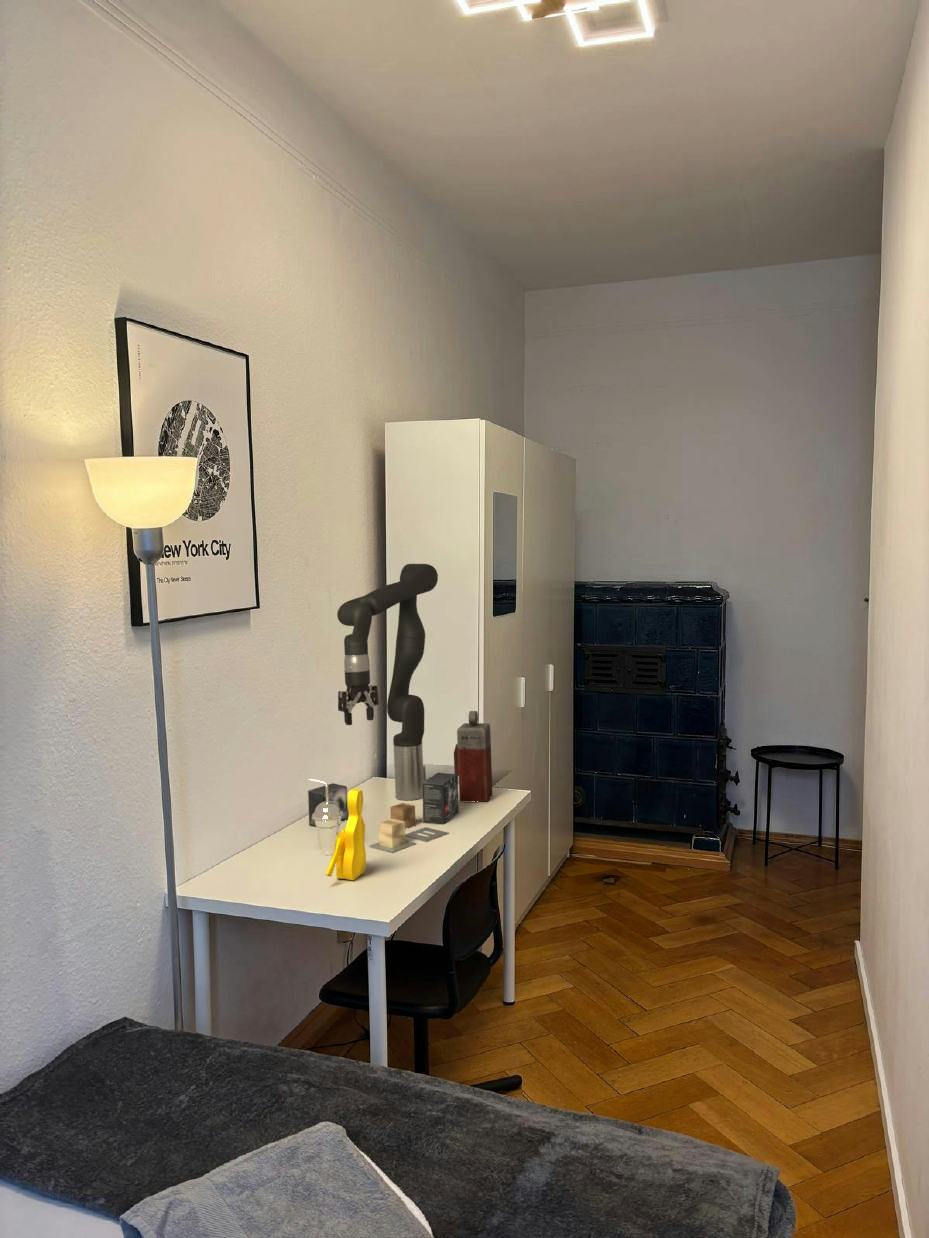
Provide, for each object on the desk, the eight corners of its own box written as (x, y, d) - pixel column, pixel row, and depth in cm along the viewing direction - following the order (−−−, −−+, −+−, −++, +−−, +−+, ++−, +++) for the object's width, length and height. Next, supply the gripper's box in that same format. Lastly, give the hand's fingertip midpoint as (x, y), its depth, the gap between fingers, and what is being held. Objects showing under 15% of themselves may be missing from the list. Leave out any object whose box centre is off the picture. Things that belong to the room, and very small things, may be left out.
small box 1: (323, 829, 276) (322, 793, 275) (308, 825, 280) (306, 790, 279) (349, 819, 284) (347, 785, 284) (333, 816, 288) (332, 782, 288)
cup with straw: (327, 859, 249) (323, 784, 247) (305, 853, 255) (301, 779, 253) (352, 851, 255) (348, 777, 253) (330, 844, 261) (326, 772, 259)
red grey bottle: (458, 794, 309) (455, 708, 306) (492, 794, 306) (489, 708, 304) (452, 801, 300) (448, 713, 298) (487, 802, 297) (484, 713, 295)
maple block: (392, 840, 262) (391, 818, 262) (405, 843, 259) (404, 821, 258) (379, 844, 258) (378, 823, 258) (392, 848, 255) (391, 826, 255)
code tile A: (425, 828, 273) (425, 826, 273) (448, 833, 267) (448, 832, 267) (403, 836, 267) (403, 834, 267) (426, 841, 261) (426, 840, 261)
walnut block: (403, 823, 279) (402, 802, 279) (415, 825, 276) (414, 805, 276) (391, 827, 276) (390, 806, 275) (403, 830, 272) (402, 809, 272)
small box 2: (444, 824, 276) (443, 784, 275) (422, 823, 278) (421, 782, 277) (459, 812, 289) (458, 772, 288) (438, 810, 291) (436, 772, 290)
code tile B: (393, 838, 265) (393, 836, 265) (416, 844, 259) (416, 842, 259) (369, 846, 258) (369, 845, 258) (392, 852, 252) (392, 851, 252)
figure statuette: (353, 863, 245) (349, 779, 243) (381, 866, 242) (377, 780, 241) (319, 887, 229) (314, 797, 227) (348, 890, 226) (344, 799, 224)
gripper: (366, 665, 294) (368, 717, 295) (330, 671, 283) (333, 725, 285) (383, 666, 289) (385, 719, 290) (347, 672, 278) (350, 727, 280)
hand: (359, 722), depth 288 cm, fingers open, 8 cm apart
